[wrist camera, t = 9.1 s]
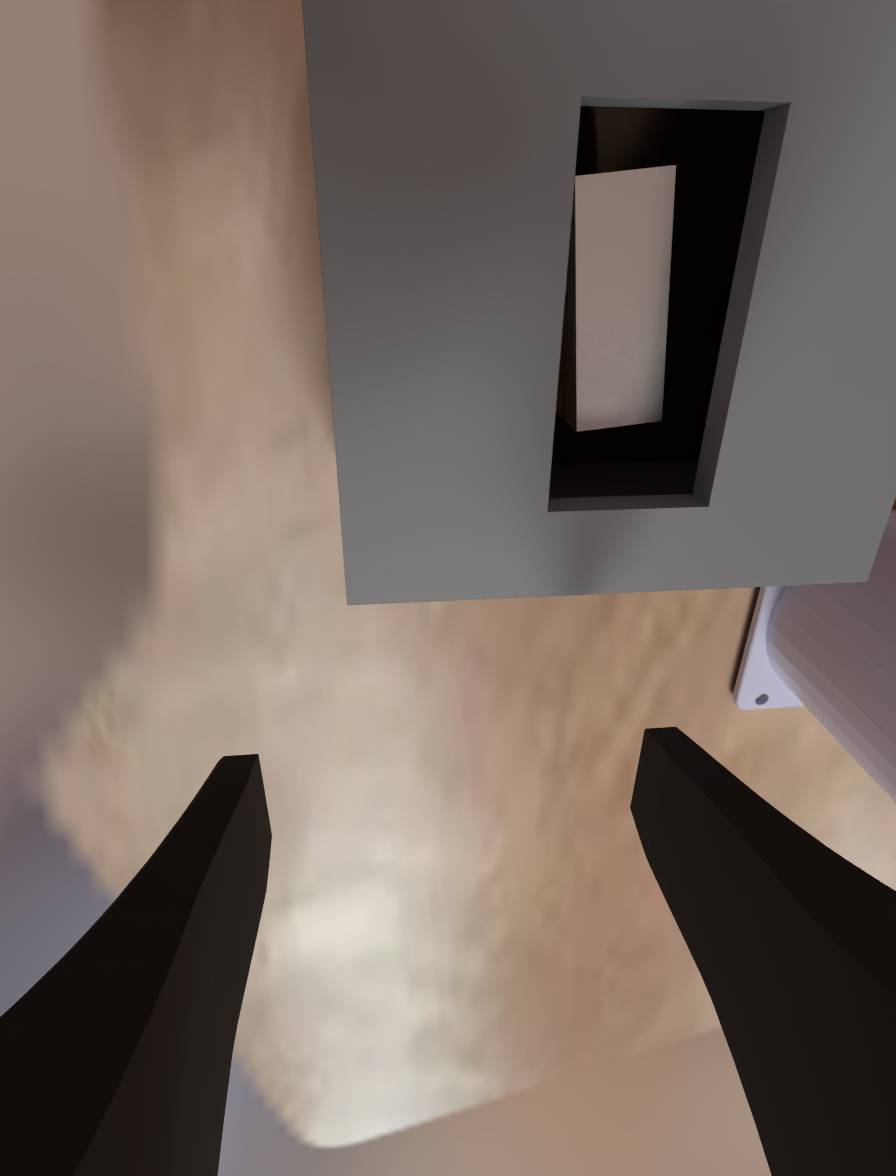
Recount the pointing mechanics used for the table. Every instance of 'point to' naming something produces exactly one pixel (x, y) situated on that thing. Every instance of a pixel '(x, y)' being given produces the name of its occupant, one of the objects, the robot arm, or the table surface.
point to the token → (617, 299)
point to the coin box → (538, 283)
